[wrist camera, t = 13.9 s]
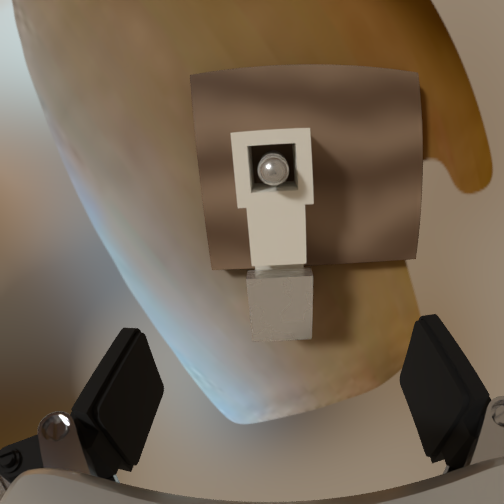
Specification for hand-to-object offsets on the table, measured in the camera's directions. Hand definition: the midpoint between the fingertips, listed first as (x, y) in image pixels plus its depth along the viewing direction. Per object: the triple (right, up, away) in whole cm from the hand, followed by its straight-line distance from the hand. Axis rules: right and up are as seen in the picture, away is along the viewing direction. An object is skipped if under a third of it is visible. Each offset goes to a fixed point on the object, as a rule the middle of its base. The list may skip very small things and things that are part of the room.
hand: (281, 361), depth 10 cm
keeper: (+2, +1, +19) cm, 19 cm away
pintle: (+1, +11, +14) cm, 17 cm away
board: (+4, +11, +15) cm, 19 cm away
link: (+1, +7, +15) cm, 17 cm away
